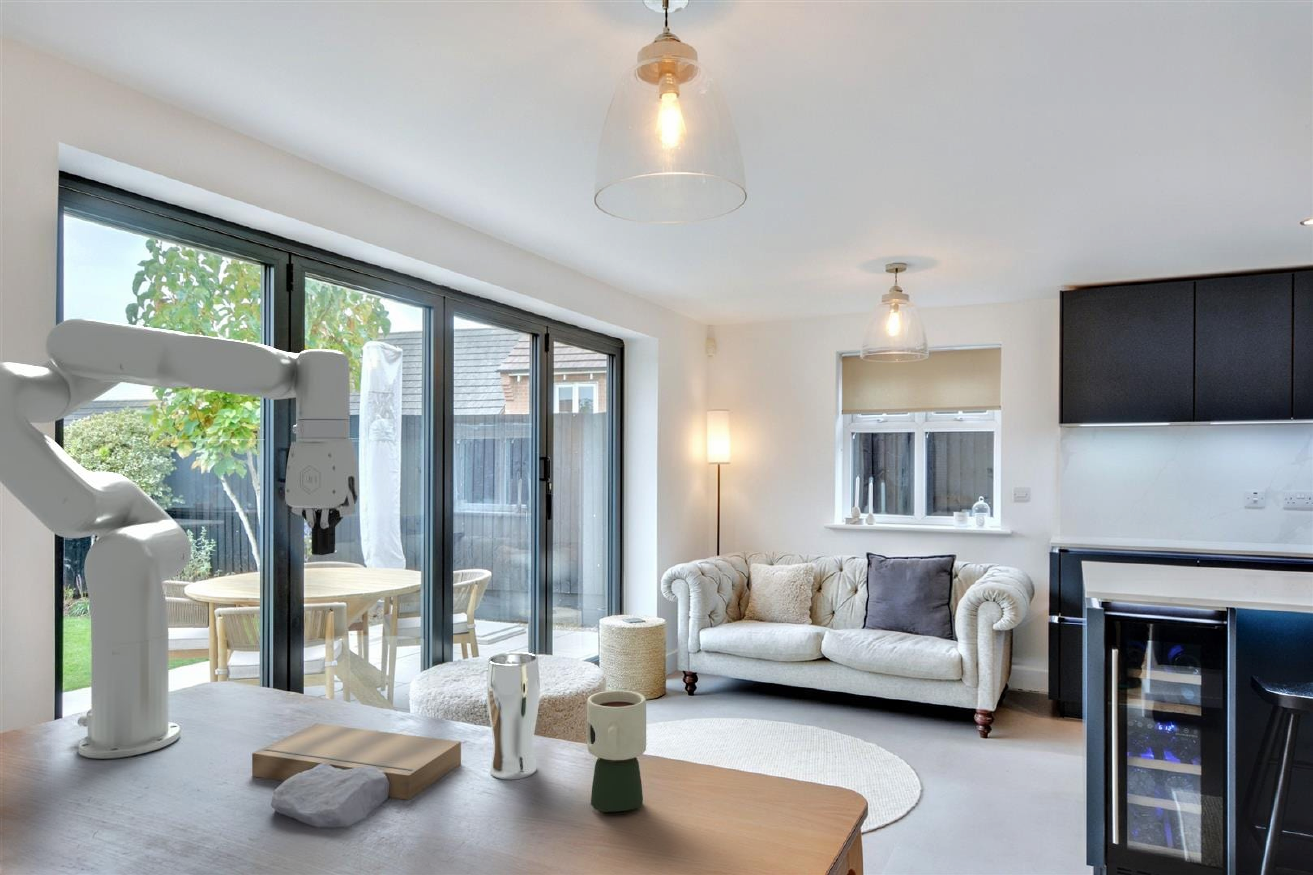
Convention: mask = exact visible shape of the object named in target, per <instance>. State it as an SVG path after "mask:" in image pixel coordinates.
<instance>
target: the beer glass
mask: <svg viewBox="0 0 1313 875" xmlns="http://www.w3.org/2000/svg"><path fill="white" fill-rule="evenodd" d="M487 661H488V666H487V668H488V670H487V675H486V676H487V678H486V680H487V681H486V701H487V703H486V704H487V712H488V715H489V716H488V717H489V722H490V723H489V724H490V727H491V735H492V740H493V751H492V761H491V764H490V774H491V776H493V777H494V778H496V779H500V780H505V781H507V780H508V781H509V780H510V781H512V780H514V781H515V780H521V779H525V778H528V777H530V776H532V775H533V774H535V773H536V771H537V759H536V756H535V748H534V742H535V740H534V738H535V730H536V725H537V718H538V712H539V706H540V692H541V691H540V690H541V688H540V686H541V685H540V684H541V682H540V670H539V657H538V655H536V654H534V653H529V652H523V651H522V652H521V651H519V652H518V651H515V652H513V651H512V652H511V651H510V652H504V653H499V654H494V655H492V656H490V657H489V658H488V660H487Z"/></svg>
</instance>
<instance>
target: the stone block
mask: <svg viewBox="0 0 1313 875" xmlns="http://www.w3.org/2000/svg"><path fill="white" fill-rule="evenodd" d="M388 794H389V782H388V780H387V777H386V775H385V773H384V771H382V770H378V769H377V768H376V767H355V768H353V769H348V770H342V769H340V768H334V767H332V766H331V765H329V764H328V763H322V764H319V765H317V766H316V767H314V768H313V769H310V770H306V771H303V772H302V773H298V774H296V775H294V776H292V777H290V778H289V779H287V780H285V781H282V783H281V784H280V785H279V786H277V788H276V789H274V791H273V794H272V799H271V802H270V806H271V807H272V808H273V810H274V811H276V812H277V813H278V814H281V815H285V817H288V818H294V819H295V820H297V821H299V822H301V823H304V824H306V825H309V826H314V828H315V827H316V828H320V829H321V828H347V827H351V826H352V825H354V824H356V823H357V822H359V821H362V820H364V819H365V818H366V817H367V816H368V815H369V814H371V813H372V811H373V810H374V809H376V808H378V807H381V805H382V804H383V803H385V801H387V800H388V798H389V797H388Z"/></svg>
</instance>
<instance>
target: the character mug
mask: <svg viewBox="0 0 1313 875" xmlns="http://www.w3.org/2000/svg"><path fill="white" fill-rule="evenodd" d="M586 706H587V707H586V708H587V709H586V710H587V711H586V715H587V716H586V718H587V719H586V740H587V741H586V742H587V743H586V745H587V746H586V747H587V751H588V752H589V754H591V755H592V756H595V757H596V758H597V760H596V761H595V764H594V770H593V771H594V772H593V780H592V785H591V786H592V787H591V794H590V795H591V796H590V798H591V799H590V805H591V806H592V807H593V809H594V810H597V811H600V812H601V813H606V812H607V813H608V812H614V813H618V812H620V811H622V812H623V811H629V810H634V809H638V808H639V807H641V806H643V801H644V796H643V787H642V786H643V783H642V778H641V771H640V769H641V768H640V762H639V761H638V758H637V757H639V756H642V755H643V754H644V753H645V752H646V751H647V699H646V696H645V695H644V694H642V693H640V692H636V691H630V690H617V689H616V690H607V691H605V690H604V691H601V692H600V691H599V692H597V693H594V694H592V695H590V696H588V698H587V703H586Z"/></svg>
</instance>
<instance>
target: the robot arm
mask: <svg viewBox="0 0 1313 875" xmlns="http://www.w3.org/2000/svg"><path fill="white" fill-rule="evenodd" d="M45 350H46V351H45V352H46V354H47V357H48V358H49V359H50V360H49V361H47V362H46V363H44V364H42V365H41V366H35V365H30V364H23V363H17V362H9V361H0V484H2V485H3V486H4V487H5V488H6V489H7V490H8V491H9V492H10V493H11V495H12V496H14V497H15V498H16V500H18V501H19V502H20V503H21V504H22V505H23V506H24V507H25V509H27V510H28V511H29V512H30V513H32V514H33V515H34V517H36V519H37V520H39V521H40V522H41V523H42V524H43V525H44V526H45V527H46V528H47V529H48V530H49V531H50V532H52V533H53V534H55V535H57V536H58V537H62V538H67V539H81V538H86V537H87V538H88V537H92V536H97V537H98V539H97V540H95V542H94V543H92V545H91V547H90V548H89V549H88V551H87V554H86V556H85V561H84V564H83V565H84V569H83V570H84V579H85V583H86V584H85V585H86V589H87V595H88V601H89V608H90V642H91V644H90V646H91V647H90V648H91V649H90V651H91V653H90V654H91V655H90V656H91V658H90V659H91V660H90V662H91V666H90V667H91V668H90V670H91V674H90V675H91V676H90V677H91V678H90V679H91V683H90V684H91V685H90V686H91V692H90V693H91V697H90V698H91V701H90V702H91V703H90V704H91V705H90V706H91V707H90V709H89V710H87V713H86V715H85V716H84V715H81V716H80V717H79V718H78V719H77V725H78V726H80V727H85V728H87V736H85V737H84V738H82V739H81V740H80V741H79V742H78V744H77V745H78V746H77V747H78V748H77V752H78V754H79V755H81V756H82V757H85V758H89V759H98V760H99V759H100V760H102V759H119V758H126V757H133V756H137V755H143V754H146V753H149V752H153V751H156V750H159V749H163V748H165V747H167V746H169V745H171V744H173V743H174V742H176V741H177V740H178V739H179V738H180V737H181V726H180V725H178V724H177V723H175V722H173V721H172V722H171V721H169V718H170V717H169V715H170V714H169V712H170V711H169V707H170V706H169V694H170V692H169V681H170V680H169V672H170V670H169V666H170V665H169V663H170V662H169V648H170V647H169V641H170V640H169V635H170V634H169V610H168V605H167V599H166V595H165V592H164V591H165V590H164V586H163V583H164V582H165V581H169V580H171V579H173V578H174V577H176V576H178V575H179V574H180V573H182V572H183V571H184V570H185V569H186V567H187V566H188V564H189V562H190V560H191V557H192V545H191V541H190V539H189V536H188V535H187V533H186V532H185V530H184V529H183V527H181V526H180V524H178V523H177V521H175V519H174V518H172V517H171V515H170V514H168V512H166V511H165V510H164V509H163V508H162V507H161V506H160V505H159V504H158V503H157V502H156V501H155V500H154V499H152V497H151V496H150V495H149V494H147V492H145V491H144V490H143V488H141V487H140V486H139V485H138V484H137V483H136V482H134V481H133V480H131V479H130V478H128V477H127V476H125V475H122V474H120V473H116V472H113V471H90V470H88V469H86V468H85V467H83V466H82V465H81V464H79V463H78V462H77V461H76V460H75V459H73V457H72V456H70V454H68V453H67V452H66V451H65V450H64V448H63V447H61V446H60V445H59V444H58V443H57V442H56V441H55V440H53V439H52V438H51V437H50V436H48V435H46V434H45V433H43V432H42V431H41V430H38V429H37V428H36V427H35V426H34V425H33V424H43V423H44V424H45V423H46V424H47V423H53V422H57V421H60V420H62V419H63V418H66V417H68V416H70V415H72V414H73V413H76V412H77V411H78V410H80V409H81V408H83V407H85V406H86V405H89V403H92V402H93V401H95V400H97V399H98V398H99V397H101V396H102V395H104V394H106V393H107V392H108V391H110V390H111V389H113V388H115V387H117V385H119V384H121V383H125V384H134V385H140V386H147V387H155V388H161V389H170V390H171V389H173V390H174V389H177V388H188V389H189V388H190V389H198V390H206V391H214V392H221V393H228V394H234V395H235V394H237V395H242V396H249V397H257V398H262V399H268V400H284V399H285V400H286V399H294V398H295V400H296V401H295V407H296V408H295V414H296V415H295V420H296V422H295V424H294V425H293V426H292V429H291V430H292V433H293V434H295V439H296V440H295V441H291V444H290V447H289V452H288V457H287V463H286V473H285V474H286V475H285V486H284V487H285V488H284V489H285V492H284V495H285V496H284V499H285V502H286V505H288V506H289V507H291V512H292V513H293V514H294V515H297V516H300V517H303V518H304V520H305V521H306V525H307V527H308V528H309V529H311V555H313V556H318V555H319V556H326V555H330V554H335V552H336V528H337V527H339V526H340V522H341V521H342V519H343V518H345V517H348V516H351V515H355V514H356V512H357V511H356V504H357V501H358V500H359V499H358V497H359V476H358V474H359V473H358V464H357V456H356V451H355V447H354V442H353V441H351V439H350V438H351V437H350V436H351V432H350V429H351V428H350V426H351V425H350V424H351V423H350V420H351V419H350V418H351V416H350V415H351V414H350V413H351V411H350V410H351V408H350V407H351V404H350V402H351V400H350V399H351V397H350V396H351V391H350V390H351V386H350V382H351V381H350V380H351V379H350V378H351V376H350V375H351V374H350V370H351V369H350V366H351V365H350V359H349V356H348V355H347V354H346V353H345V352H342V351H339V350H334V349H308V350H307V349H306V350H302V351H301V352H299V353H295V352H290V351H289V352H287V351H284V350H280V349H276V348H274V347H272V346H268V345H265V344H260V343H255V342H250V341H249V342H248V341H242V340H235V339H229V338H228V339H227V338H220V337H212V336H207V335H199V334H198V335H197V334H191V333H190V334H189V333H185V332H183V331H176V330H169V329H161V328H153V327H148V326H147V327H146V326H145V327H144V326H139V325H133V324H127V323H126V324H125V323H119V322H114V321H113V322H111V321H105V320H98V319H92V318H91V319H90V318H71V319H67V320H63V321H62V322H60V323H57V324H56V325H54V327H53V328H51V330H50V331H49V333H48V335H47V336H46V340H45Z"/></svg>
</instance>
